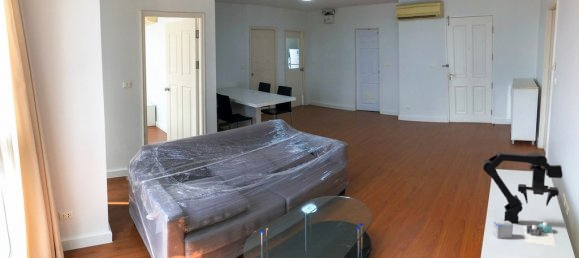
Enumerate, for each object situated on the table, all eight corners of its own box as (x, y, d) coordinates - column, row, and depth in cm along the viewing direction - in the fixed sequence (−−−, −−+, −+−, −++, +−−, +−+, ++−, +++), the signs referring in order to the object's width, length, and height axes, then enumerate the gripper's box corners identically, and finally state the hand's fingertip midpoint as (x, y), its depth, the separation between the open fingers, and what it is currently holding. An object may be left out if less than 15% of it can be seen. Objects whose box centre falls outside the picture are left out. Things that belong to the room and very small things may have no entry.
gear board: (524, 243, 215) (525, 233, 214) (523, 227, 232) (524, 217, 231) (554, 248, 209) (555, 237, 208) (551, 231, 226) (552, 221, 225)
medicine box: (507, 236, 224) (508, 220, 222) (512, 239, 220) (513, 224, 218) (492, 236, 224) (493, 221, 222) (497, 240, 219) (497, 225, 218)
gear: (526, 234, 222) (527, 229, 221) (526, 229, 228) (526, 224, 227) (542, 237, 219) (542, 231, 218) (541, 231, 225) (541, 226, 224)
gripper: (518, 179, 226) (517, 207, 229) (560, 183, 218) (558, 212, 221) (518, 173, 236) (517, 200, 239) (558, 177, 227) (556, 204, 231)
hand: (536, 204), depth 232 cm, fingers open, 9 cm apart
